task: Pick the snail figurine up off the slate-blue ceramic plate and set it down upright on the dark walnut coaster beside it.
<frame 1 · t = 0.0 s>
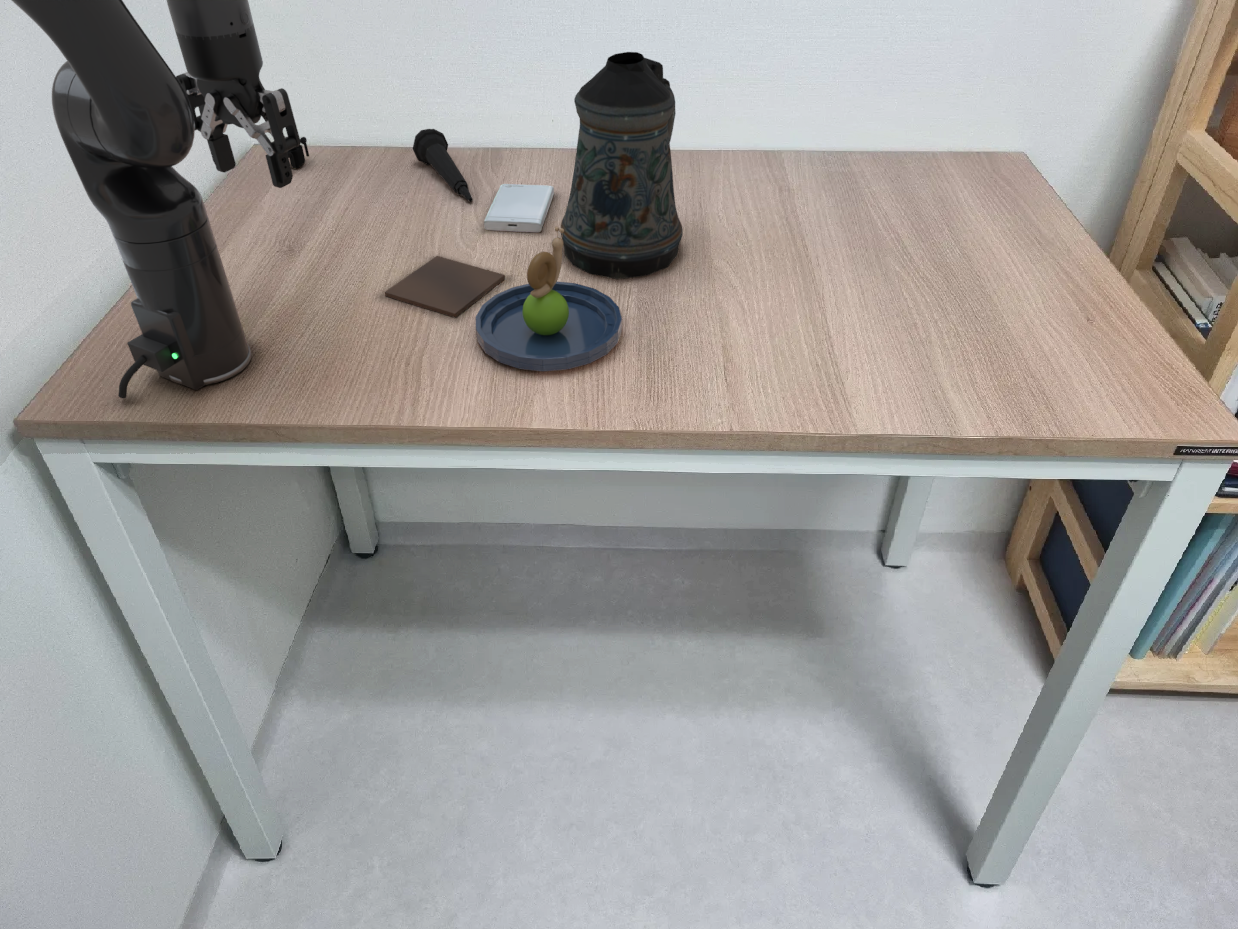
hand: (255, 177, 103), 17 cm above the table, tool pointing down, fingers open, 8 cm apart
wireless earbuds: (296, 166, 148), on the table
microphone: (443, 180, 144), on the table
coaster: (446, 287, 118), on the table
snail figurine: (549, 331, 110), resting on plate
hard drive: (520, 213, 135), on the table
plate: (549, 333, 110), on the table
beer stein: (621, 246, 127), on the table
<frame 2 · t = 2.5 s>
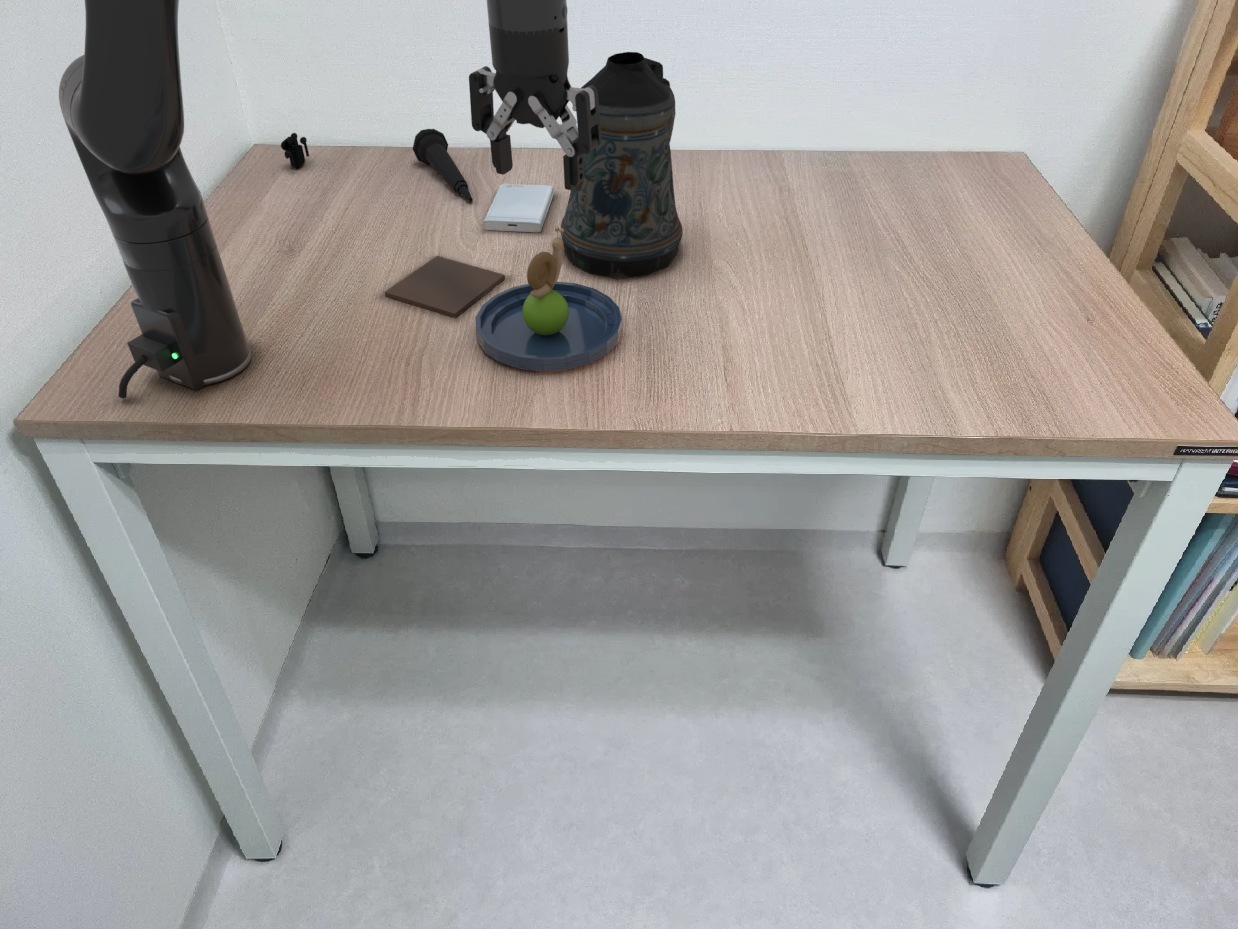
hand: (538, 179, 98), 19 cm above the table, tool pointing down, fingers open, 8 cm apart
nothing on the table moved.
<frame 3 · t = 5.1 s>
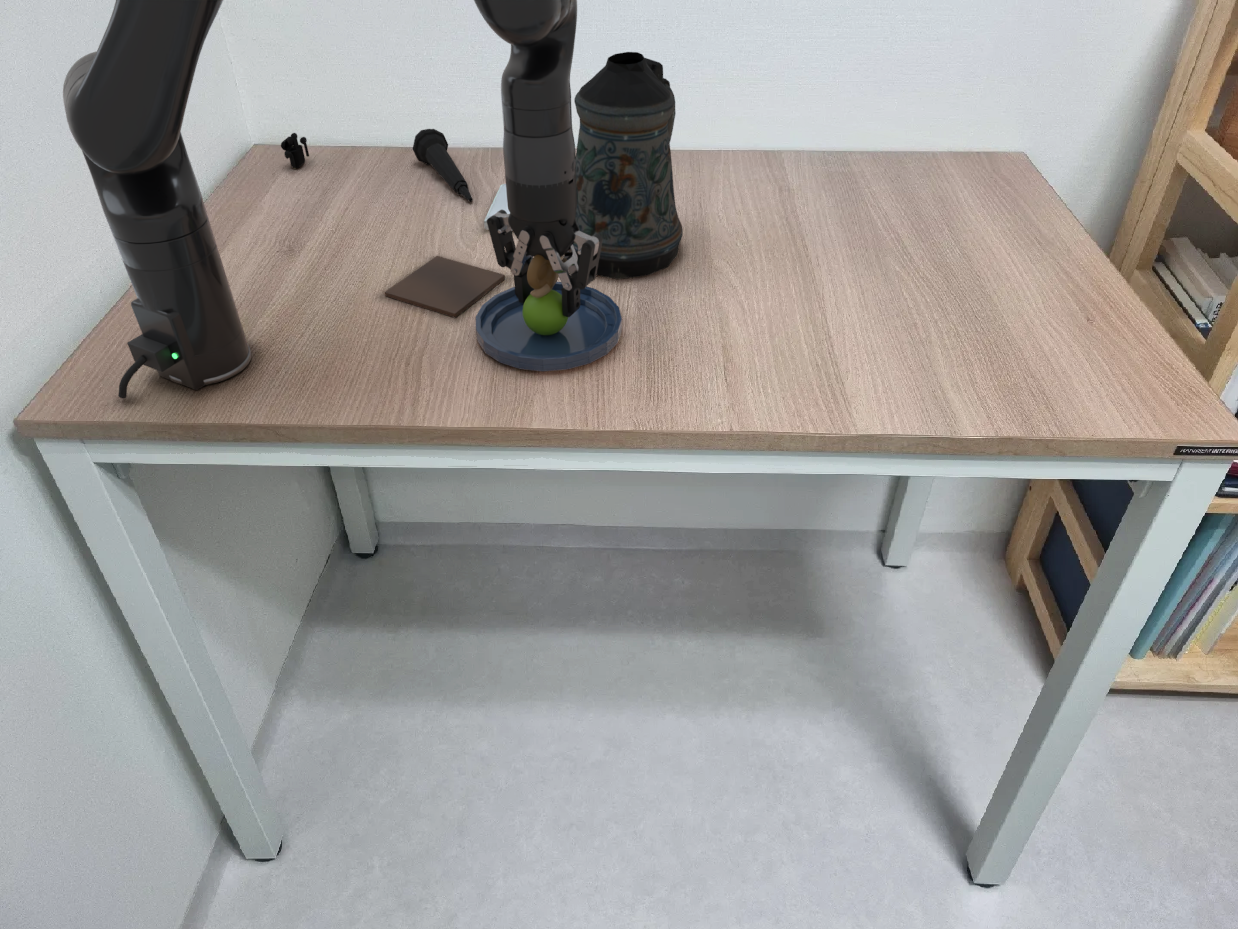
hand: (548, 306, 108), 4 cm above the table, tool pointing down, fingers closed on snail figurine, 5 cm apart
snail figurine: (549, 331, 110), resting on plate, touching gripper
everything else where it was.
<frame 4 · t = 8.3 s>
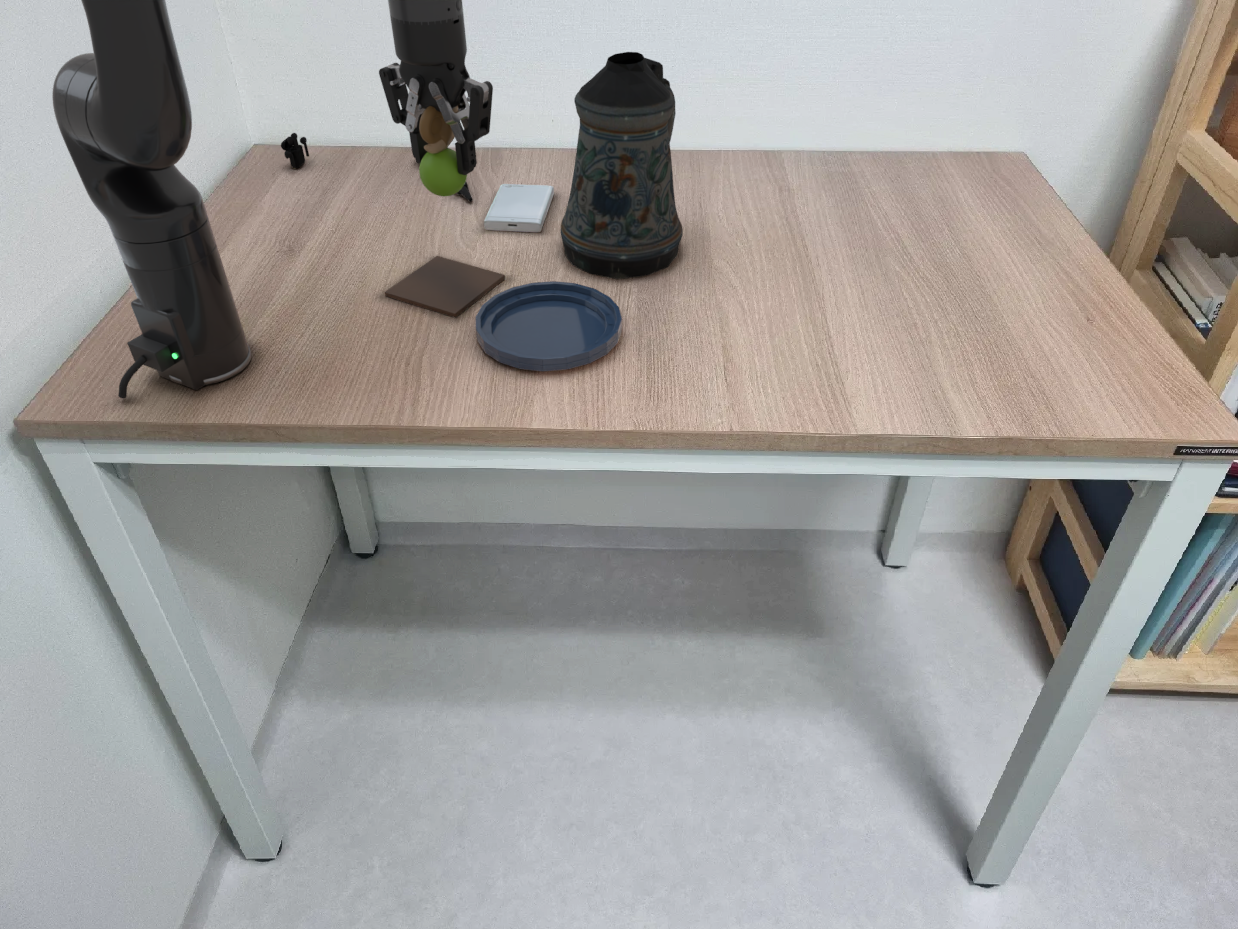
hand: (445, 166, 106), 17 cm above the table, tool pointing down, fingers closed on snail figurine, 5 cm apart
snail figurine: (448, 194, 108), point 14 cm above the table, touching gripper
everything else where it was.
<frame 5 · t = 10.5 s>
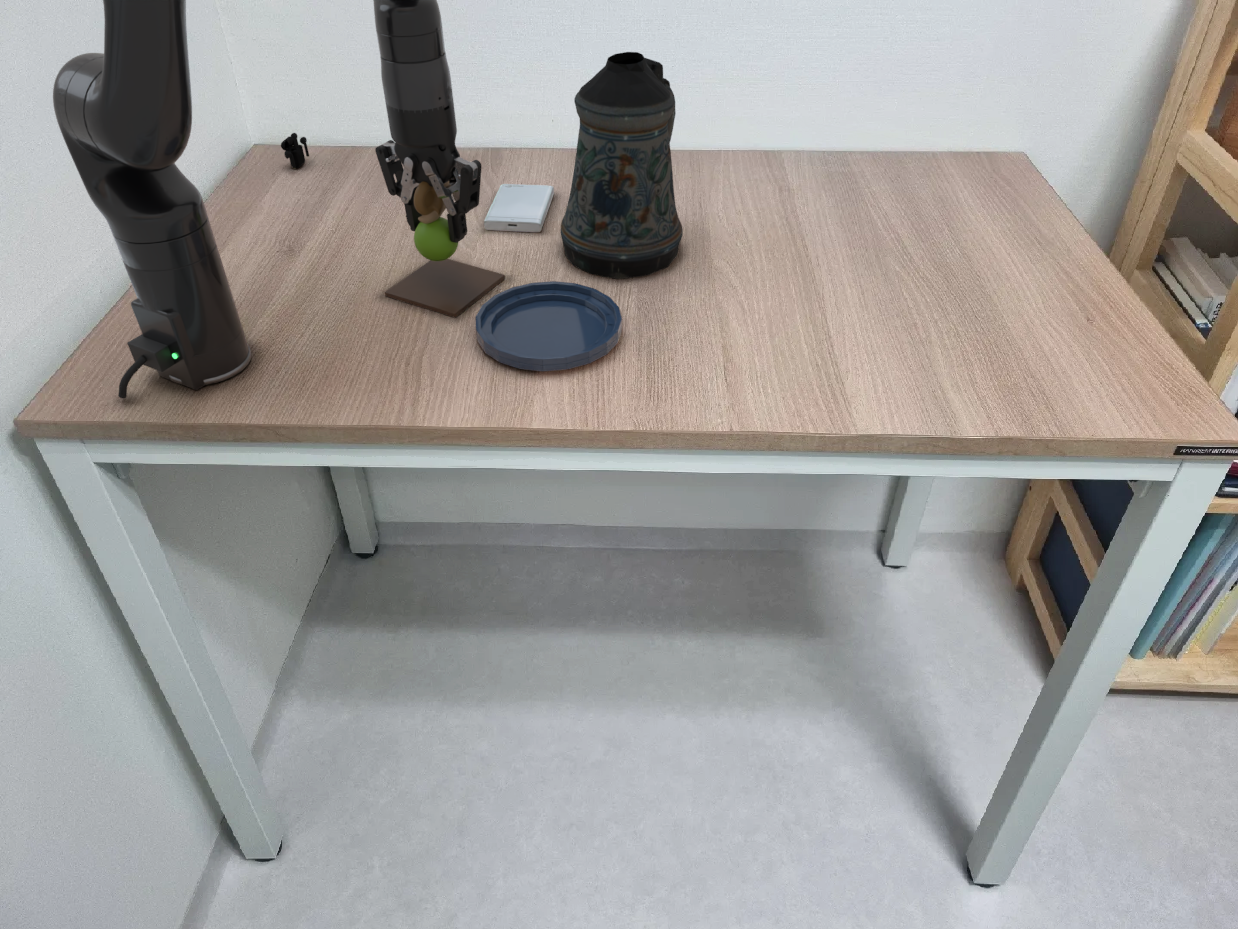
hand: (438, 233, 114), 7 cm above the table, tool pointing down, fingers closed on snail figurine, 5 cm apart
snail figurine: (441, 258, 116), point 4 cm above the table, touching gripper
everything else where it was.
when the fingers open (4 cm above the table, at t = 11.9 s): snail figurine stays where it is, resting on coaster.
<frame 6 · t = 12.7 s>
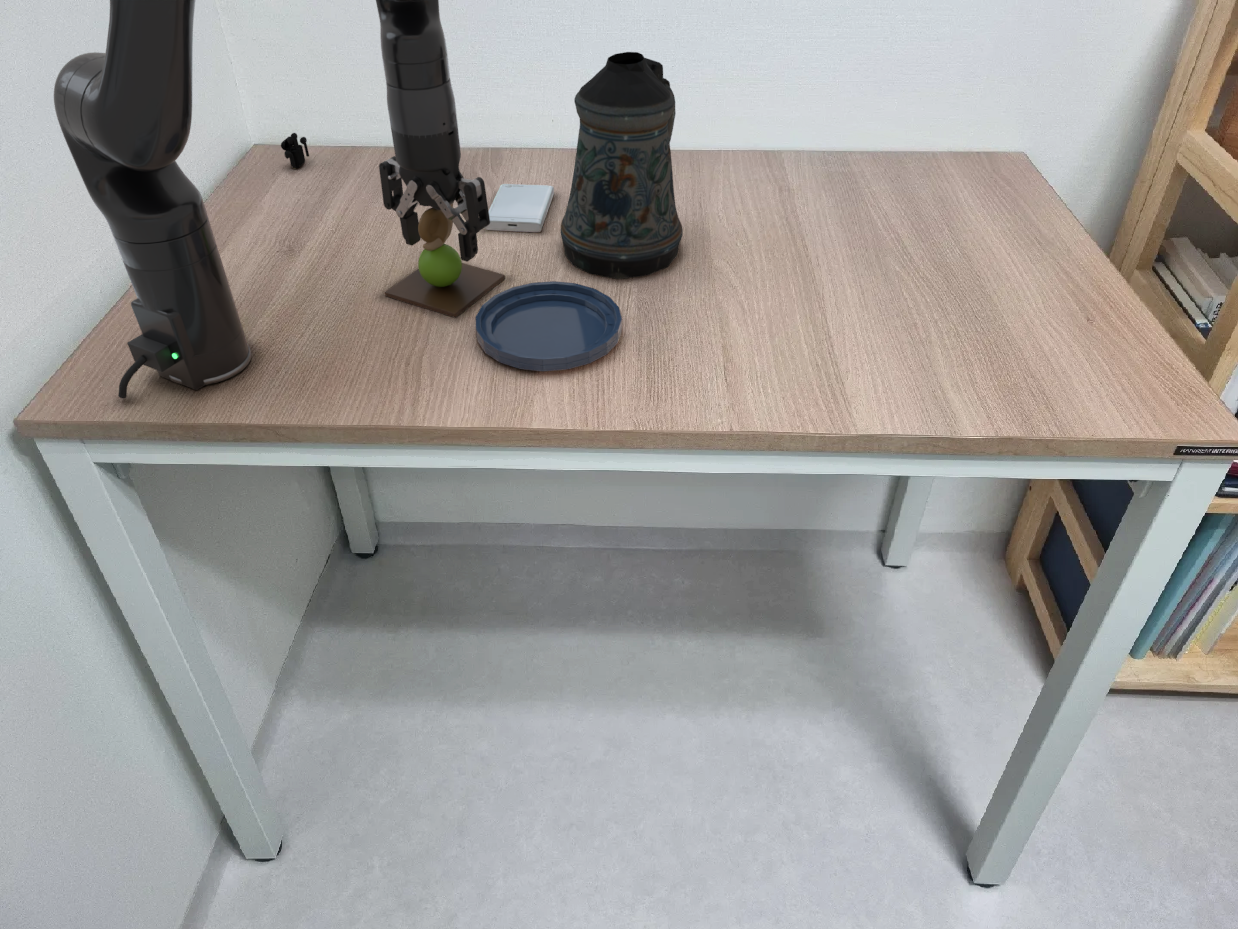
hand: (441, 250, 115), 5 cm above the table, tool pointing down, fingers open, 8 cm apart
snail figurine: (445, 283, 118), resting on coaster
everything else where it was.
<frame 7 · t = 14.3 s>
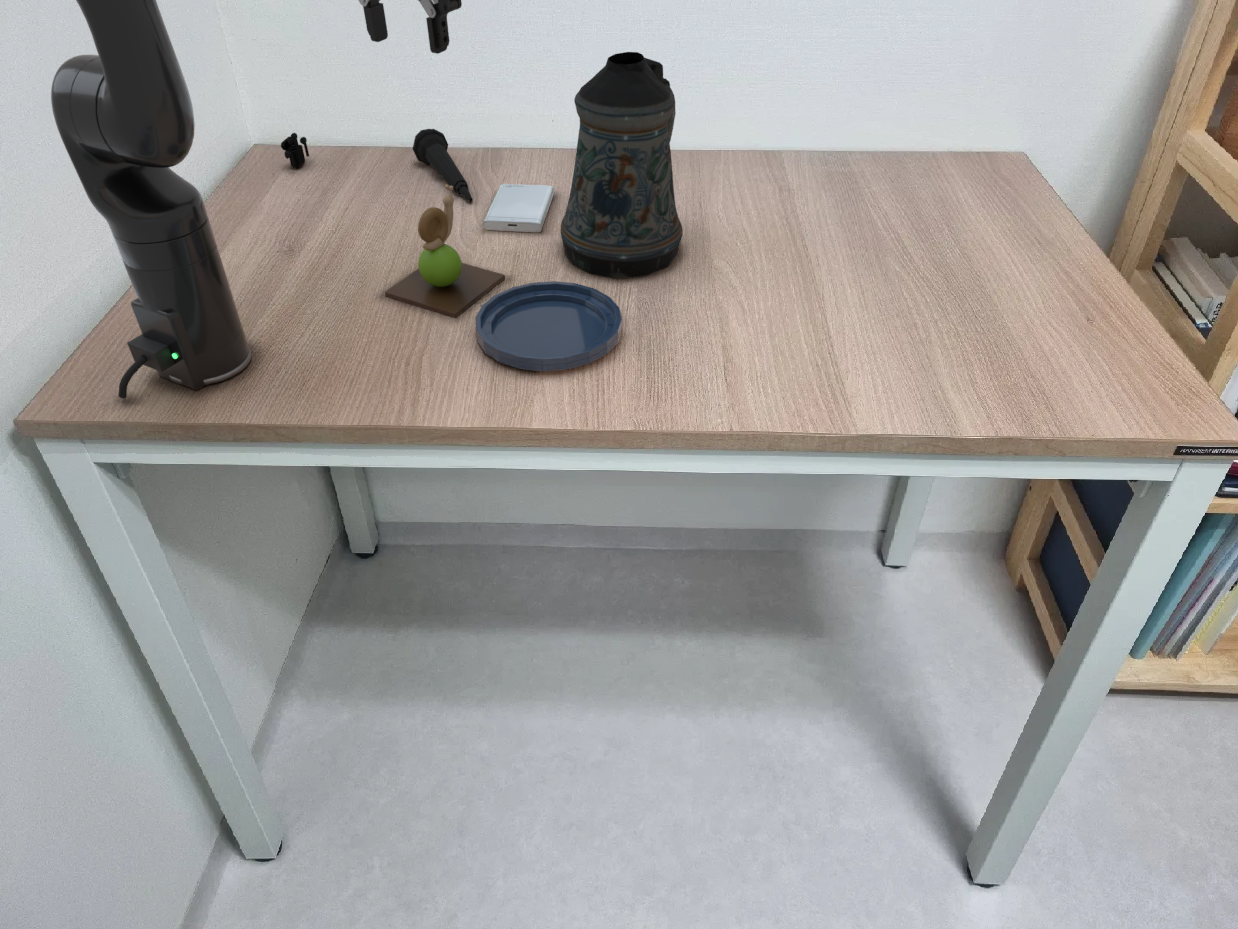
hand: (409, 45, 104), 28 cm above the table, tool pointing down, fingers open, 8 cm apart
nothing on the table moved.
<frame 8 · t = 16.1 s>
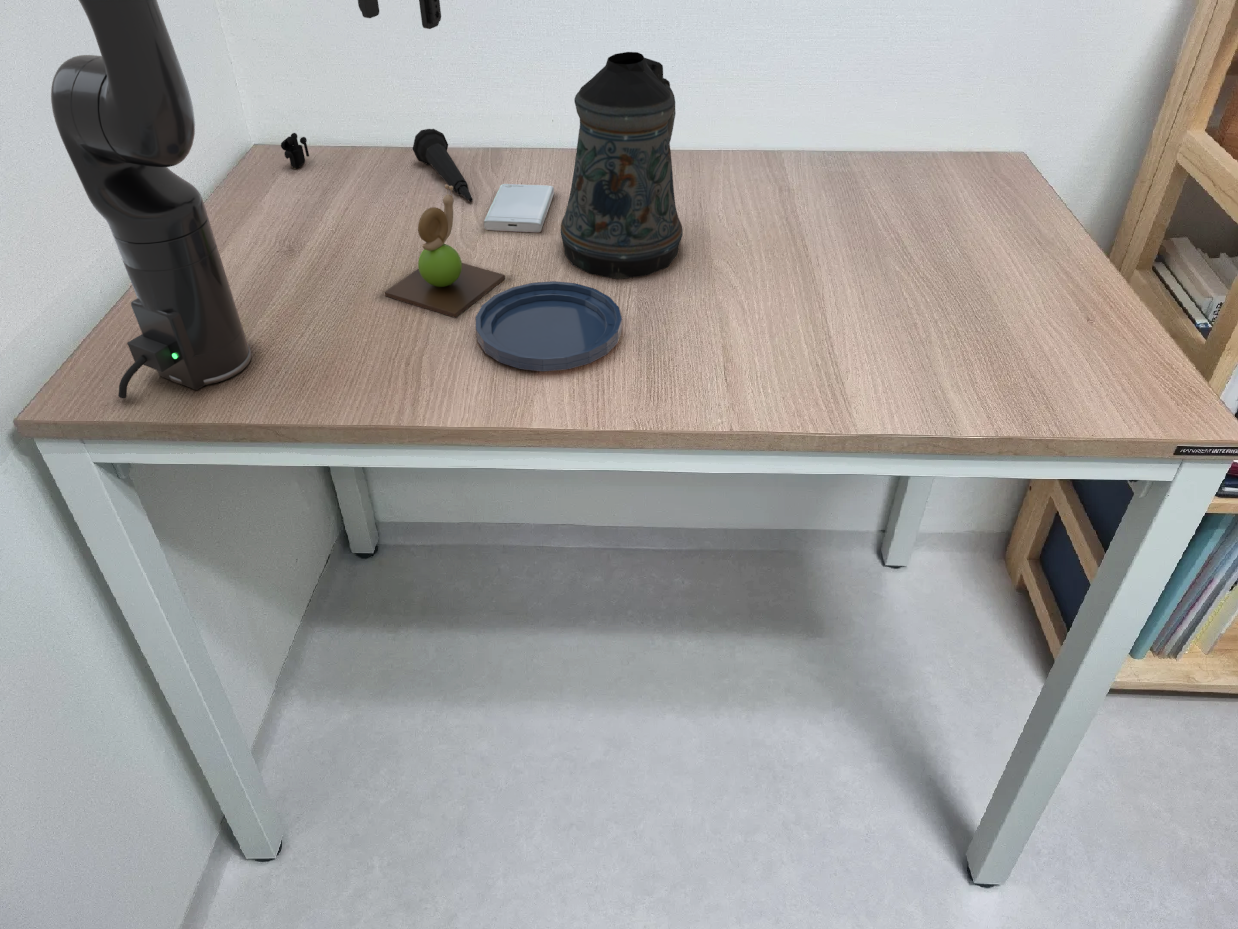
hand: (401, 21, 104), 30 cm above the table, tool pointing down, fingers open, 8 cm apart
nothing on the table moved.
at the end: snail figurine inside the target area on the coaster (0.1 cm from its centre), point 0.4 cm above the coaster's base; snail figurine touching coaster; snail figurine tilted 0° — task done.
